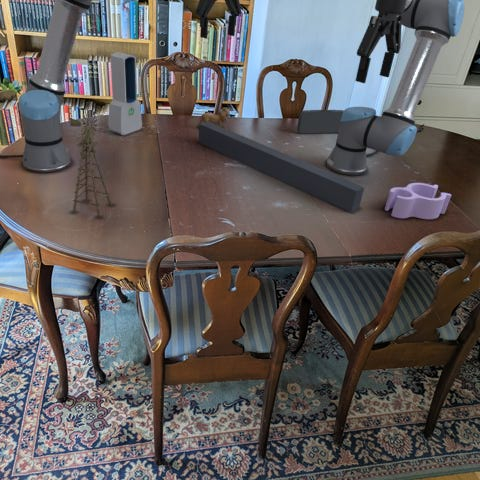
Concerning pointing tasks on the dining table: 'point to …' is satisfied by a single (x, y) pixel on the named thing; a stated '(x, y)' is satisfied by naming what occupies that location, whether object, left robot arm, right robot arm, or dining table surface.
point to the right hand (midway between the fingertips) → (372, 79)
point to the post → (283, 167)
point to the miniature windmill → (86, 142)
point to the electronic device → (124, 95)
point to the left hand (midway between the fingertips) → (217, 36)
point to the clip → (417, 201)
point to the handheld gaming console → (319, 121)
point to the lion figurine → (215, 117)
